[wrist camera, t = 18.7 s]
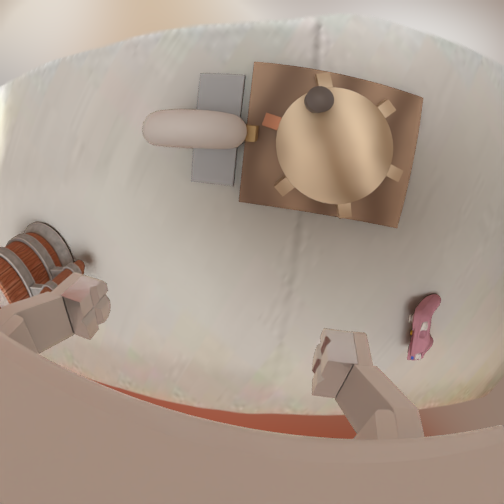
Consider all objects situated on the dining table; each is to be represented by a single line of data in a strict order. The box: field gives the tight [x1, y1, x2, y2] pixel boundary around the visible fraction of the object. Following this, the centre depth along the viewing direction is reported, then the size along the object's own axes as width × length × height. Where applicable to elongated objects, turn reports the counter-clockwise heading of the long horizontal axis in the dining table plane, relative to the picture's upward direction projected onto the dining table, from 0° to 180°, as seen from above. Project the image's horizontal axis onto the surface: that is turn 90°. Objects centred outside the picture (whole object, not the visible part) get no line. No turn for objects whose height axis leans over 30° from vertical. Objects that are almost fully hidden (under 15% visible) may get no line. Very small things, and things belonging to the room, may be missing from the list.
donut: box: [142, 109, 247, 149], centre depth 26 cm, size 10×3×10 cm, turn 86°
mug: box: [0, 223, 85, 309], centre depth 36 cm, size 14×19×15 cm
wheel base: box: [239, 62, 423, 228], centre depth 28 cm, size 19×16×4 cm
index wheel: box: [262, 72, 403, 219], centre depth 26 cm, size 15×15×6 cm
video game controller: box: [407, 294, 441, 360], centre depth 37 cm, size 10×5×7 cm, turn 13°
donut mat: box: [191, 73, 245, 186], centre depth 31 cm, size 5×13×1 cm, turn 174°
